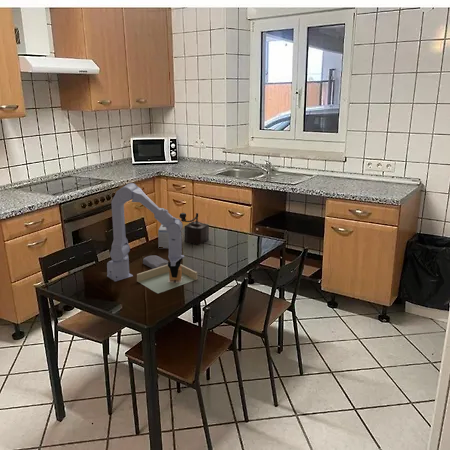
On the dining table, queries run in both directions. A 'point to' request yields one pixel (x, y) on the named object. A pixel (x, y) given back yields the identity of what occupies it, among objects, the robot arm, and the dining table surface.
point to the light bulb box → (163, 237)
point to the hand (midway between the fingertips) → (175, 274)
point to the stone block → (154, 261)
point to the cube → (177, 275)
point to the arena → (165, 278)
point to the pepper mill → (195, 230)
